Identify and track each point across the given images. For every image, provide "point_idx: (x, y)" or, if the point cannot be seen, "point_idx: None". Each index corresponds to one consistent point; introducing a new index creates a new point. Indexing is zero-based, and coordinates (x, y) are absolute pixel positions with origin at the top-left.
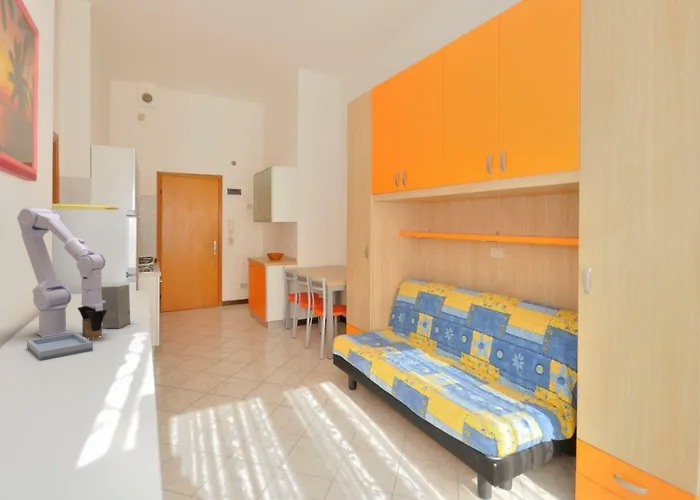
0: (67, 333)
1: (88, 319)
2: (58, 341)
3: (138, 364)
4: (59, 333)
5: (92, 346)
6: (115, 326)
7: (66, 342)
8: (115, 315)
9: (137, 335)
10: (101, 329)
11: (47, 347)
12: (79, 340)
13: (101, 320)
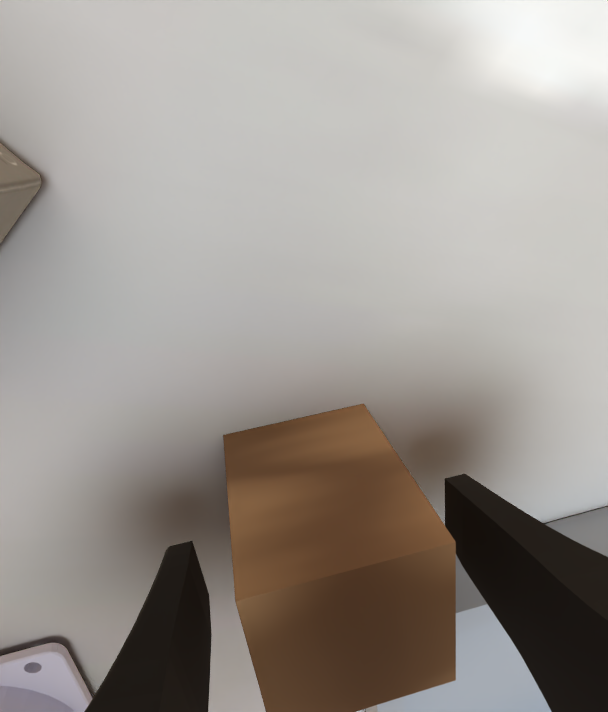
0: (70, 657)
1: (320, 681)
2: None
3: None
4: (76, 709)
5: None
6: (8, 223)
7: (480, 635)
8: None
9: (578, 49)
10: (395, 452)
11: (518, 700)
12: None
13: (578, 553)
